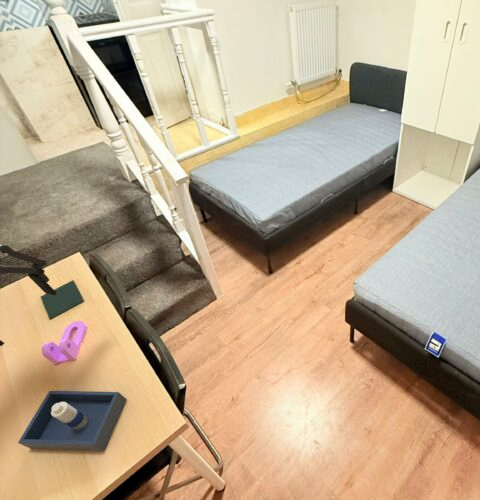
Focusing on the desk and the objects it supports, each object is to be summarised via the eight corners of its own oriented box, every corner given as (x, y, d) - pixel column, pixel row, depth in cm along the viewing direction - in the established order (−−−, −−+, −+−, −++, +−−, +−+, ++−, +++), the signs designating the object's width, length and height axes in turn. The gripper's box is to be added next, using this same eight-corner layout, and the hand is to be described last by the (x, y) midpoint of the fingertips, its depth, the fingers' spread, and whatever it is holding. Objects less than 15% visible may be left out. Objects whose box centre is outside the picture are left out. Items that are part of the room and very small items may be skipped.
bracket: (77, 360, 93) (62, 348, 88) (55, 365, 92) (39, 352, 87) (89, 321, 102) (76, 308, 97) (69, 325, 101) (56, 312, 96)
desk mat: (41, 297, 110) (40, 296, 109) (73, 281, 114) (73, 280, 114) (50, 319, 103) (49, 318, 103) (84, 301, 108) (83, 300, 107)
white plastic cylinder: (70, 429, 80) (43, 413, 73) (79, 414, 82) (54, 398, 75) (82, 431, 79) (57, 415, 72) (91, 416, 82) (67, 400, 74)
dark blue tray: (32, 449, 77) (17, 443, 74) (61, 398, 86) (49, 390, 82) (105, 451, 77) (94, 445, 73) (127, 400, 85) (118, 391, 81)
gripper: (-120, 309, 50) (-15, 372, 65) (24, 209, 67) (81, 278, 82) (-152, 300, 52) (-42, 363, 67) (-4, 205, 69) (58, 272, 84)
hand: (26, 316), depth 75 cm, fingers open, 13 cm apart
